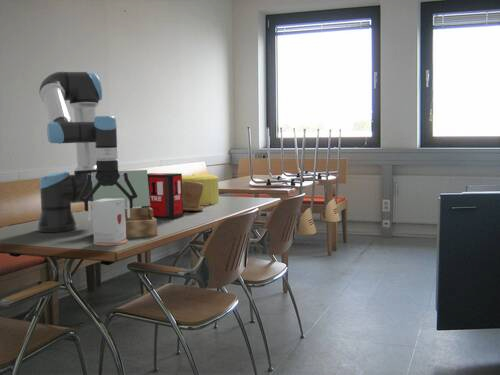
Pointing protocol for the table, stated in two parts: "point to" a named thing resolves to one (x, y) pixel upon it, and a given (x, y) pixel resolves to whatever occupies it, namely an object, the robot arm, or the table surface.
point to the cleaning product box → (165, 195)
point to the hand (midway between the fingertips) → (109, 218)
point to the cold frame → (140, 223)
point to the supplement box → (109, 220)
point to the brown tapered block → (191, 196)
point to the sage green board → (126, 188)
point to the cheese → (205, 187)
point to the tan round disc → (111, 243)
